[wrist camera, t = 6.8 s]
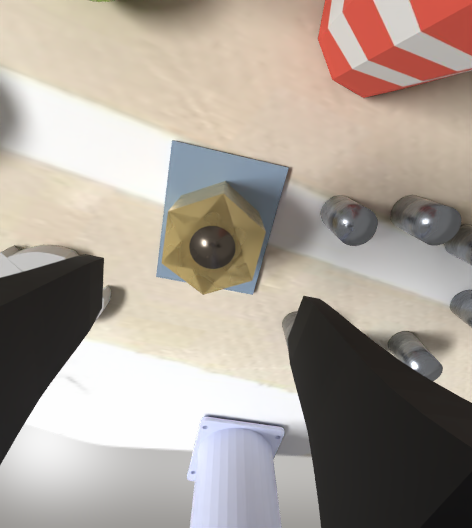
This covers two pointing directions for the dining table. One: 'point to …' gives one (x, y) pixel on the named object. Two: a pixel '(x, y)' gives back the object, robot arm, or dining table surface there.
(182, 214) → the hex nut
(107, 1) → the snail figurine
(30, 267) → the adjustable wrench
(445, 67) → the beverage can
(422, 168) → the dining table surface
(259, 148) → the dining table surface
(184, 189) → the mat
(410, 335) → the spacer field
